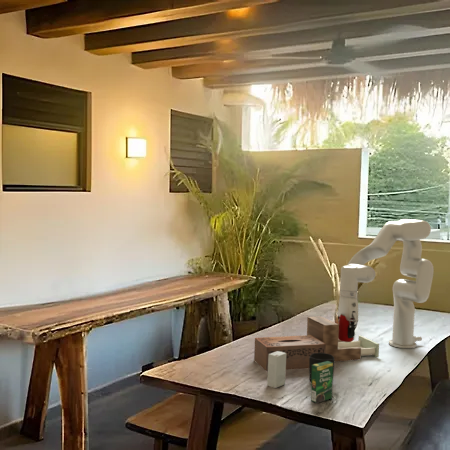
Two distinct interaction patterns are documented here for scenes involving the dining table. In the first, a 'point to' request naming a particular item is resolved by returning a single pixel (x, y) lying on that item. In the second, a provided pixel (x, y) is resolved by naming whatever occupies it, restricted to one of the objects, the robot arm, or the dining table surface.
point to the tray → (362, 346)
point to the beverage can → (344, 329)
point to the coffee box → (321, 381)
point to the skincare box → (276, 369)
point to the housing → (331, 338)
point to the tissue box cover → (288, 350)
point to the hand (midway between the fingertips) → (346, 333)
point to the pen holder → (319, 361)
